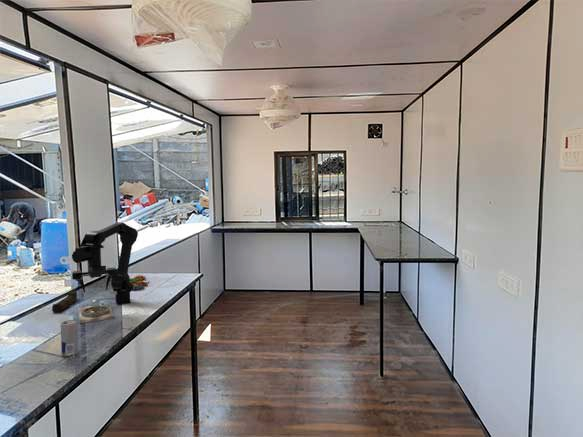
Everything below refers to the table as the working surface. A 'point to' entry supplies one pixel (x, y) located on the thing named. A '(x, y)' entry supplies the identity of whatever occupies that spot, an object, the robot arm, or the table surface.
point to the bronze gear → (95, 307)
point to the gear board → (95, 316)
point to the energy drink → (69, 337)
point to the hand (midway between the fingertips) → (95, 291)
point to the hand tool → (65, 302)
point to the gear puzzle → (138, 283)
